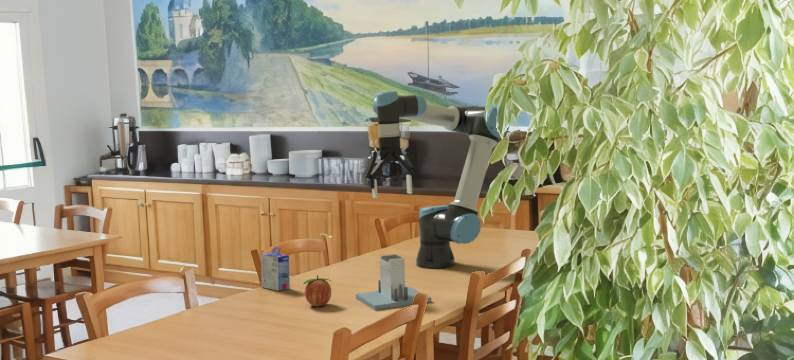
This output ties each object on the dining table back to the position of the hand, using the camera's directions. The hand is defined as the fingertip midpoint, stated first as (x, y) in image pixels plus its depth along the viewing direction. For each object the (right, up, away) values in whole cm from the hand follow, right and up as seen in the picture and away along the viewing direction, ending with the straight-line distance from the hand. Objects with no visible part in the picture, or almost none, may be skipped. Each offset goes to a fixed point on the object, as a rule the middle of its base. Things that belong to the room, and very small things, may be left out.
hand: (392, 195), depth 298 cm
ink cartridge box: (-41, -33, +2) cm, 53 cm away
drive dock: (0, -34, -20) cm, 39 cm away
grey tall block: (0, -33, -20) cm, 38 cm away
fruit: (-24, -36, -23) cm, 49 cm away
